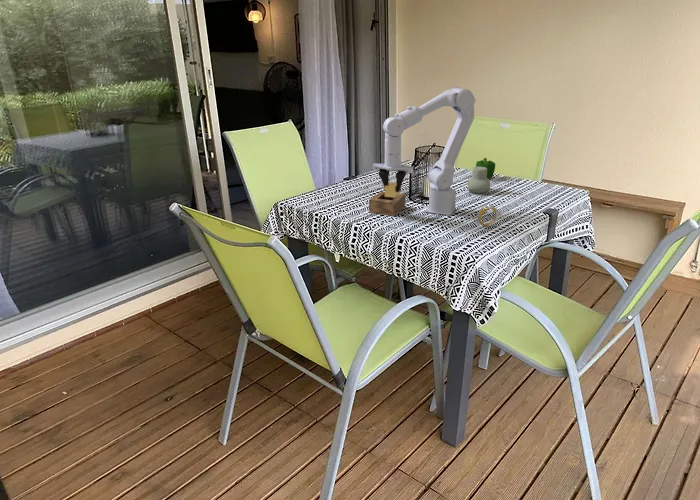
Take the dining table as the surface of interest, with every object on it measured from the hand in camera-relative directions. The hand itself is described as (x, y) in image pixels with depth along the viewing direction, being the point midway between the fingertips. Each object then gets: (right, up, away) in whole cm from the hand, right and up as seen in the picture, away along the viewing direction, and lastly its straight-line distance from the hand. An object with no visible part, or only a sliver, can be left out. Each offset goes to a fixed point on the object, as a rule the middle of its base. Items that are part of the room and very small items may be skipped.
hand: (392, 190), depth 184 cm
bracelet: (+31, -14, -9) cm, 35 cm away
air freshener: (+38, +3, +29) cm, 48 cm away
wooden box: (-1, -6, +9) cm, 11 cm away
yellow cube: (0, -2, +1) cm, 2 cm away
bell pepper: (+45, +11, +47) cm, 66 cm away
